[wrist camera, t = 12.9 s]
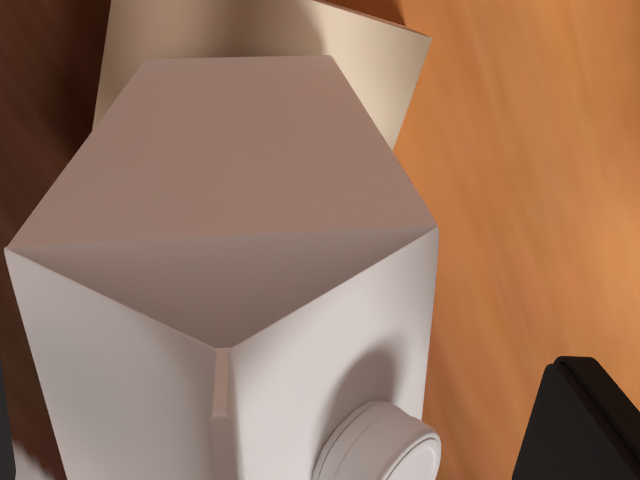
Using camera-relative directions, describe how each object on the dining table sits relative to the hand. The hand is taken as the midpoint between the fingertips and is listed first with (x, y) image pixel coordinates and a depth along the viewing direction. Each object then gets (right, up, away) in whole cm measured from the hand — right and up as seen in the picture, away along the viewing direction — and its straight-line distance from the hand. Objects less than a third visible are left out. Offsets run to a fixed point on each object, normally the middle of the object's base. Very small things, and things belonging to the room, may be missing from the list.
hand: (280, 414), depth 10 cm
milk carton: (-2, +7, +14) cm, 16 cm away
